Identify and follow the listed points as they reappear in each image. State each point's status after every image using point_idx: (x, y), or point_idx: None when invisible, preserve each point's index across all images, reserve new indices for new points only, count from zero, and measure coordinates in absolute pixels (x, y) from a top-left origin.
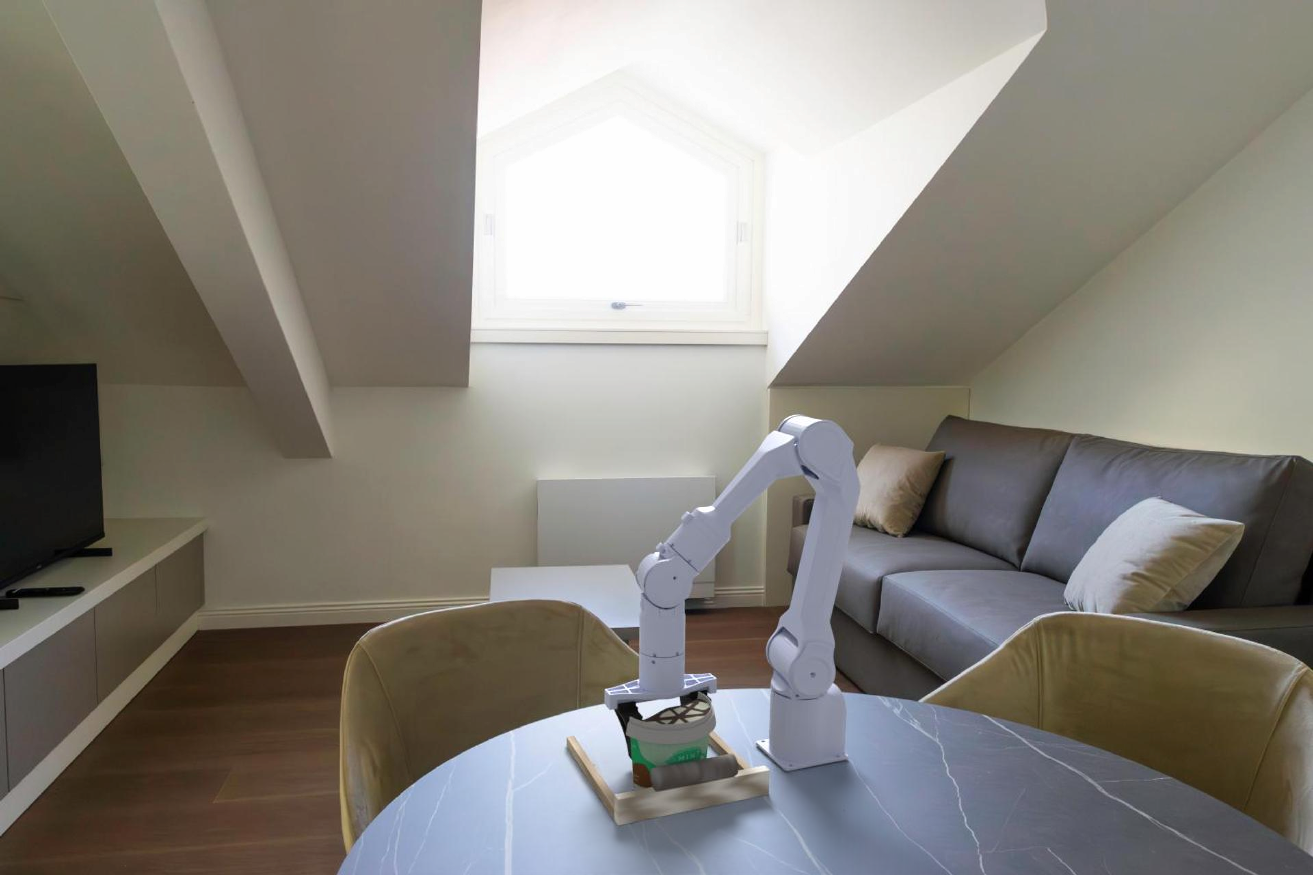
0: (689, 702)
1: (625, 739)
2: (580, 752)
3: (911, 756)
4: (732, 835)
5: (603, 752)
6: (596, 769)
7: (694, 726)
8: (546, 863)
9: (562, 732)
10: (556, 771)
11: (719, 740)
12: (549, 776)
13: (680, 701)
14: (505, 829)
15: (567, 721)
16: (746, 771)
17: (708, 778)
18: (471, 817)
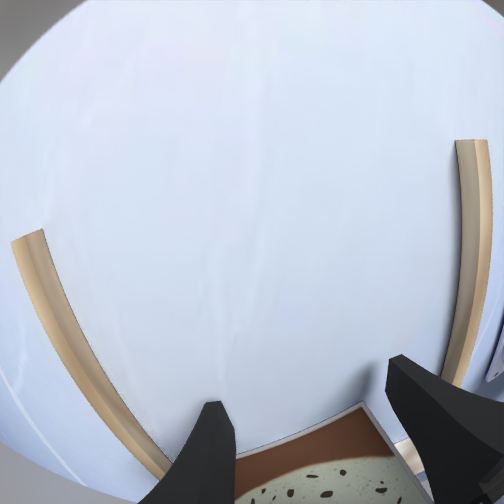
0: (453, 500)
1: (188, 438)
2: (62, 350)
3: None
4: None
5: (127, 296)
6: (123, 428)
7: None
8: (118, 496)
9: (19, 140)
10: (42, 361)
11: (476, 314)
12: (39, 374)
13: (474, 440)
14: (52, 453)
15: (42, 61)
16: (414, 472)
17: None
18: (9, 421)
